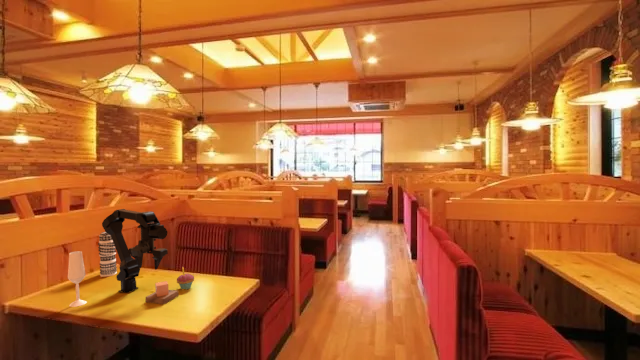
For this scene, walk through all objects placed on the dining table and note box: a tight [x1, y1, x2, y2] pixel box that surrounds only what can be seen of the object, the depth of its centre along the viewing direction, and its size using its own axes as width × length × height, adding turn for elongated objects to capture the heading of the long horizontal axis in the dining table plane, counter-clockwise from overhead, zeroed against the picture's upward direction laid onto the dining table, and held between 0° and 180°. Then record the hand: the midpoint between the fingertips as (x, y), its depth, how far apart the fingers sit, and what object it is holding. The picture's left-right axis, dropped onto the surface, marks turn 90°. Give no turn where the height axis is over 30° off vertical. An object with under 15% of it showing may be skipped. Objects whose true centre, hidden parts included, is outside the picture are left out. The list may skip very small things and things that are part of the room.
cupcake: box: [176, 265, 195, 290], centre depth 174 cm, size 9×8×12 cm
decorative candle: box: [97, 231, 118, 278], centre depth 197 cm, size 9×9×25 cm
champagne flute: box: [67, 250, 88, 308], centre depth 155 cm, size 7×7×24 cm
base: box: [145, 289, 179, 305], centre depth 160 cm, size 10×10×2 cm
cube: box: [155, 280, 169, 297], centre depth 159 cm, size 5×5×5 cm
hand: (148, 268), depth 165 cm, fingers open, 9 cm apart
